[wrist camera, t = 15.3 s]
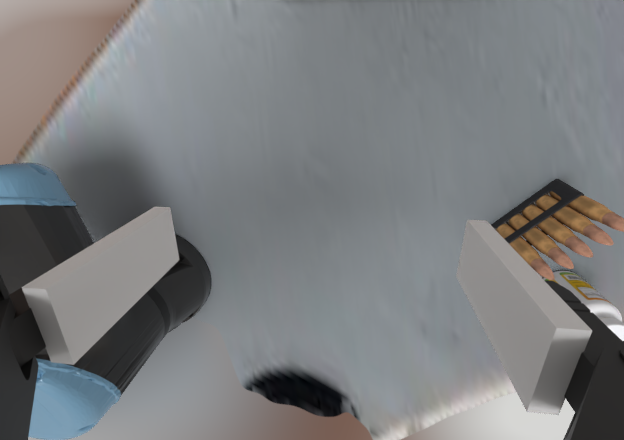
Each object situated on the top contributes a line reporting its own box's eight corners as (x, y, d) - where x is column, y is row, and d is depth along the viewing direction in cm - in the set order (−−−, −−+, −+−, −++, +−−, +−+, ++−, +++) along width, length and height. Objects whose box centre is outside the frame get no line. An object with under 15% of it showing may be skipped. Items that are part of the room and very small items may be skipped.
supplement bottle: (543, 310, 44) (590, 366, 35) (529, 279, 43) (575, 330, 34) (587, 295, 43) (647, 350, 34) (574, 262, 41) (634, 312, 32)
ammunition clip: (556, 178, 38) (639, 216, 27) (565, 189, 38) (651, 231, 27) (476, 235, 42) (519, 289, 31) (485, 245, 42) (531, 302, 31)
